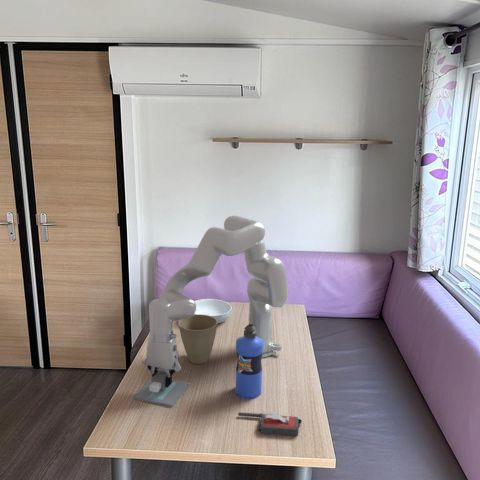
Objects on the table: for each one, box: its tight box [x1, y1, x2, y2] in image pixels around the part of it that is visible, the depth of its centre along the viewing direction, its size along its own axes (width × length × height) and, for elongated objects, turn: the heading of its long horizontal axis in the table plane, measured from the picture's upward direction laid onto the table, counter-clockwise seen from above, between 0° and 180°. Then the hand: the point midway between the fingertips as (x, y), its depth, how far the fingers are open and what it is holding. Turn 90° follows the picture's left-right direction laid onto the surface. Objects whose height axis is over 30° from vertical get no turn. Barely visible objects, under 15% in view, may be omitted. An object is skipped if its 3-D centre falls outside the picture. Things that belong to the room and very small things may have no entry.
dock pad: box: [133, 378, 190, 408], centre depth 160 cm, size 14×14×1 cm
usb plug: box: [149, 368, 167, 392], centre depth 158 cm, size 10×4×4 cm, turn 163°
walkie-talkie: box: [237, 411, 303, 437], centre depth 144 cm, size 9×4×20 cm
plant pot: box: [178, 314, 218, 365], centre depth 181 cm, size 15×15×16 cm
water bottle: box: [235, 323, 264, 400], centre depth 159 cm, size 9×9×25 cm
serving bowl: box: [193, 298, 233, 324], centre depth 218 cm, size 21×21×7 cm
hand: (162, 383), depth 160 cm, fingers closed on usb plug, 4 cm apart
